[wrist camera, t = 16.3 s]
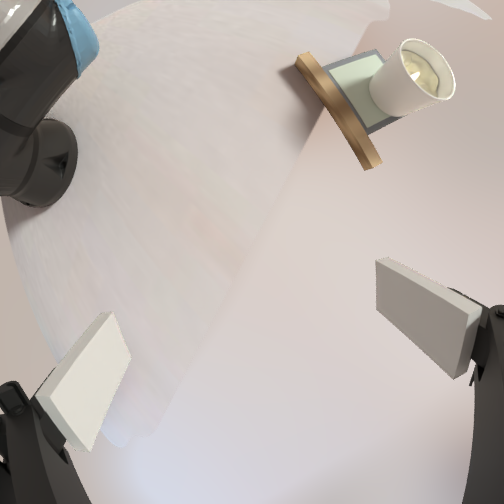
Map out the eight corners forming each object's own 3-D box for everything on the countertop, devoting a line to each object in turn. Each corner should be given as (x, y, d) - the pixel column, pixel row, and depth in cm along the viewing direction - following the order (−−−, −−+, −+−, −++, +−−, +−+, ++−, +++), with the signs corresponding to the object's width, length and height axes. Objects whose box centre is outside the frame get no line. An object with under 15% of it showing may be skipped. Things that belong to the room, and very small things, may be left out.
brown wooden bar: (294, 64, 36) (298, 55, 33) (304, 60, 36) (308, 51, 33) (364, 170, 39) (373, 168, 36) (373, 165, 39) (382, 162, 36)
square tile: (318, 69, 36) (319, 67, 36) (374, 50, 36) (376, 48, 35) (364, 137, 38) (366, 135, 37) (415, 110, 38) (417, 109, 37)
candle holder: (414, 85, 36) (453, 60, 24) (411, 130, 38) (456, 112, 26) (367, 61, 36) (399, 27, 24) (360, 107, 37) (398, 77, 25)
